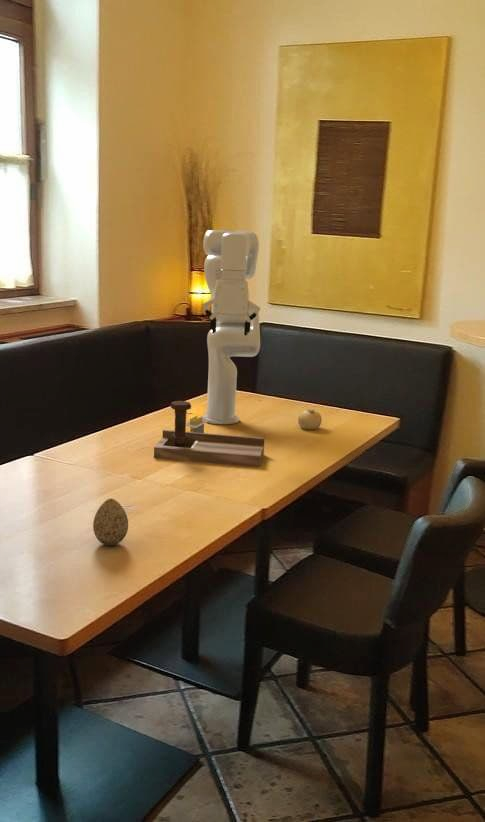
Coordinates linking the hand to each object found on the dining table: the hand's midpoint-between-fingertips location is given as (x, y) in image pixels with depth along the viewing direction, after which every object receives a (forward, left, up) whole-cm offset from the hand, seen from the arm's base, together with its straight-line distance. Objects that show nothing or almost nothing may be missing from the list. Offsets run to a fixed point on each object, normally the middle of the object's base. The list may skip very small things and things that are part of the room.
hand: (229, 333), depth 242 cm
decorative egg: (+86, -12, -33) cm, 93 cm away
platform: (-2, -9, -34) cm, 35 cm away
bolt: (+18, -11, -33) cm, 39 cm away
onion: (-23, +25, -33) cm, 48 cm away
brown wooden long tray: (+18, -2, -33) cm, 38 cm away
